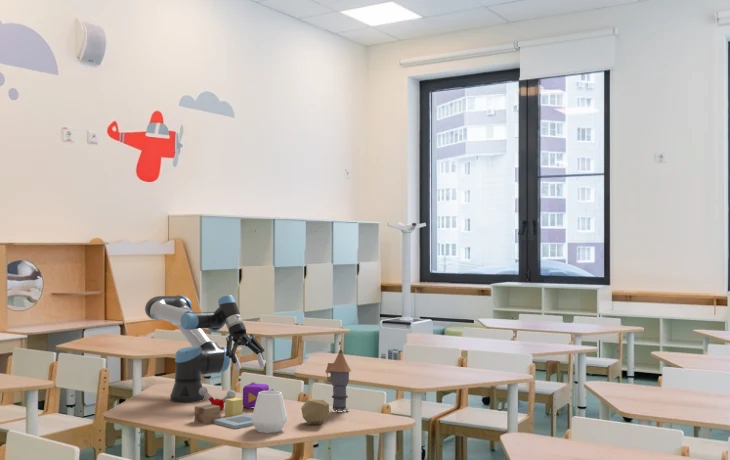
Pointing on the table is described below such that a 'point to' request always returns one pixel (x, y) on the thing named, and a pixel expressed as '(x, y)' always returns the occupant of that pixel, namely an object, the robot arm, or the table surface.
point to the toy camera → (253, 393)
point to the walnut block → (206, 413)
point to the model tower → (339, 381)
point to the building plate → (235, 421)
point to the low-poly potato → (314, 411)
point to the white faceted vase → (269, 412)
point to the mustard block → (233, 407)
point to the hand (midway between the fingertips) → (251, 368)
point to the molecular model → (217, 402)
